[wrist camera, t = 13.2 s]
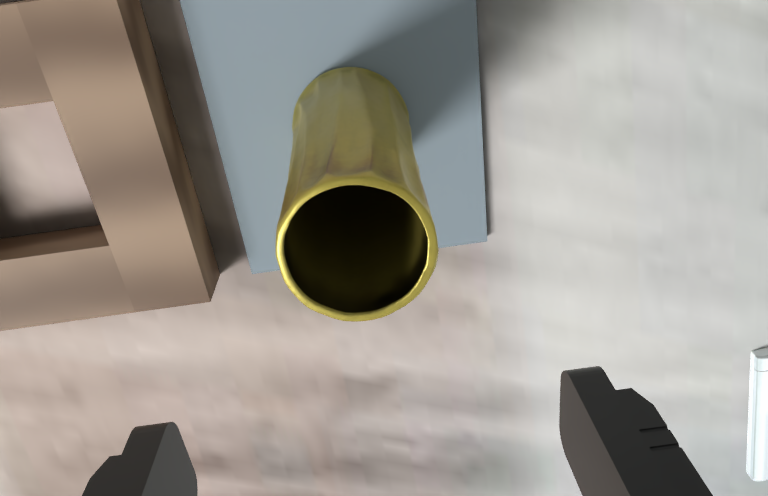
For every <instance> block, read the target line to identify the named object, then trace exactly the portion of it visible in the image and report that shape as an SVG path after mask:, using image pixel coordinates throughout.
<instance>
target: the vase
mask: <svg viewBox="0 0 768 496" xmlns="http://www.w3.org/2000/svg"><path fill="white" fill-rule="evenodd" d="M292 131H293V142H292V151H291V158H290V166H289V174H288V182H287V186H286V190H285V195H284V200H283V204H282V209H281V214H280V217H279V221H278V224H277V229H276V245H275V250H276V251H275V254H276V259H277V262H278V265H279V268H280V271H281V274H282V276H283V279H284V281H285V283H286V285H287V286H288V288H289V289H290V290H291V292H292V293H293V294H294V295H295V296H296V297H297V298H298V299H299V300H300V301H301V302H302V303H303V304H304V305H305V306H307V307H308V308H310V309H312V310H314V311H316V312H318V313H321V314H323V315H326V316H329V317H331V318H334V319H338V320H343V321H367V320H374V319H378V318H382V317H384V316H387V315H389V314H391V313H393V312H395V311H397V310H398V309H400V308H402V307H404V306H406V305H407V304H408V303H409V302H411V301H412V300H413V299H414V298H416V297H417V296H418V295H419V294H420V292H421V291H422V290H423V288H424V287H425V285H426V284H427V282H428V280H429V279H430V277H431V275H432V273H433V271H434V269H435V267H436V263H437V259H438V251H439V250H438V241H437V234H436V230H435V225H434V222H433V219H432V216H431V212H430V208H429V205H428V202H427V198H426V194H425V191H424V188H423V185H422V182H421V179H420V172H419V167H418V164H417V161H416V158H415V155H414V150H413V144H412V134H411V127H410V124H409V113H408V110H407V106H406V104H405V102H404V100H403V98H402V96H401V95H400V93H399V92H398V90H397V89H396V88H395V86H394V85H393V84H392V83H391V82H390V81H389V80H387V79H386V78H385V77H383V76H381V75H380V74H378V73H375V72H373V71H370V70H368V69H364V68H359V67H343V68H337V69H333V70H330V71H328V72H325V73H323V74H321V75H320V76H318V77H317V78H315V79H314V80H313V81H312V82H311V83H310V84H309V85H308V86H307V87H306V88H305V89H304V91H303V92H302V93H301V95H300V97H299V98H298V101H297V103H296V106H295V108H294V113H293V121H292Z"/></svg>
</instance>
